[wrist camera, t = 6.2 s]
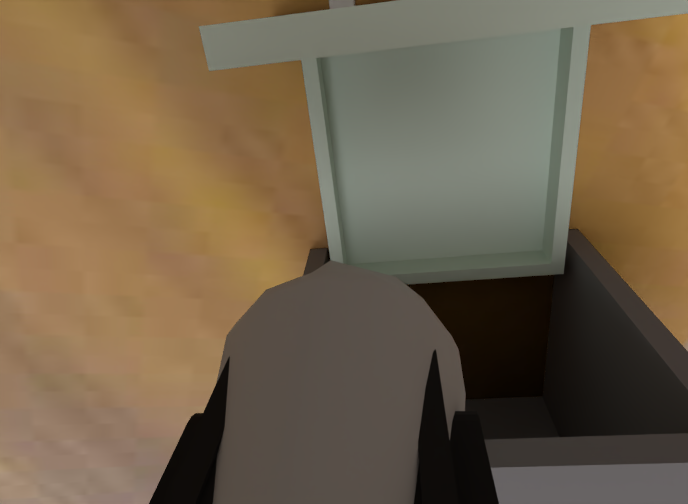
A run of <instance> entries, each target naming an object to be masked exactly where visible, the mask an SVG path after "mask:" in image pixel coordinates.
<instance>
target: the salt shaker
mask: <svg viewBox="0 0 688 504" xmlns="http://www.w3.org/2000/svg"><path fill="white" fill-rule="evenodd" d="M435 349H436V352H437V359H438V366H439V372H440V379H441V386H442V393H443V399H444V406H445V413H446V419H447V426H448V433H449V439H450V435H451V427H452V420H453V417H454V413H455V411H465V397H466V393H465V387H464V380H463V374H462V368H461V361H460V355H459V349H458V347H457V345H456V343H455V341H454V339H453V337H452V336H451V334H450V333H449V332H448V330H447V329H446V328H445V327H444V325H443V324H442V323H441V321H440V320H439V319H438V317H437V316H436V315H435V314H434V312H433V311H432V310H431V308H430V307H429V306H428V304H427V303H426V302H425V300H424V299H423V298H422V297H421V296H419V295H418V294H417V293H416V292H414V291H413V290H412V289H411V288H410V287H408V286H407V285H406V284H405V283H403V282H402V281H401V280H400V279H398V278H397V277H395V276H391V275H387V274H383V273H379V272H375V271H371V270H367V269H363V268H359V267H355V266H351V265H347V264H343V263H339V262H335V261H332V260H330V261H329V262H327V263H326V264H324V265H323V266H321V267H320V268H318V269H317V270H315V271H314V272H312V273H310V274H307V275H304V276H302V277H299V278H296V279H294V280H291V281H288V282H285V283H283V284H280V285H277V286H275V287H272V288H269V289H267V290H266V291H265V292H264V293H263V294H262V295H261V296H260V297H259V298H258V299H257V301H256V302H255V303H254V304H253V305H252V306H251V307H250V308H249V309H248V311H247V312H246V313H245V314H244V315H243V316H242V317H241V318H240V319H239V321H238V322H237V323H236V324H235V325H234V327H233V328H232V329H231V331H230V332H229V333H228V335H227V337H226V342H225V346H224V351H223V356H222V360H221V365H220V370H219V374H218V379H219V377H220V375H221V373H222V371H223V368H224V366H225V364H226V362H227V359H228V357H229V356H230V362H229V376H228V389H227V402H226V415H225V428H224V431H223V435H222V439H221V443H220V447H219V451H218V453H217V463H216V474H215V485H214V497H213V504H414V498H415V490H416V483H417V475H418V467H419V451H418V439H419V431H420V424H421V417H422V409H423V402H424V395H425V388H426V383H427V378H428V373H429V369H430V364H431V359H432V354H433V351H434V350H435ZM218 379H217V382H218Z"/></svg>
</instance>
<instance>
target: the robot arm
mask: <svg viewBox="0 0 688 504" xmlns="http://www.w3.org/2000/svg"><path fill="white" fill-rule="evenodd" d="M229 362H230V356H229V357H228V359H227V362H226V364H225V366H224V368H223V371H222V373H221V375H220V377H219V379H218V382H217V384H216V386H215V388H214V390H213V393H212V395H211V397H210V399H209V402H208V404H207V406H206V408H205V410H204V413H196V414H194V415H193V416H192V417H191V418H190V420H189V421H188V423H187V425H186V427H185V429H184V431H183V434H182V436H181V438H180V440H179V442H178V444H177V446H176V448H175V450H174V452H173V454H172V457H171V459H170V461H169V463H168V465H167V467H166V469H165V471H164V473H163V475H162V477H161V480H160V482H159V484H158V486H157V488H156V490H155V492H154V494H153V496H152V498H151V500H150V503H149V504H213V497H214V485H215V474H216V463H217V453H218V451H219V447H220V443H221V439H222V435H223V431H224V428H225V415H226V402H227V389H228V376H229ZM418 451H419V467H418V475H417V483H416V490H415V498H414V504H499V501H498V497H497V493H496V488H495V484H494V480H493V475H492V471H491V467H490V462H489V458H488V454H487V449H486V445H485V441H484V436H483V432H482V428H481V423H480V419H479V416H478V413H477V411H455V413H454V417H453V420H452V427H451V435H450V439H449V433H448V426H447V419H446V413H445V406H444V399H443V393H442V386H441V379H440V372H439V366H438V359H437V352H436V349H435V350H434V351H433V354H432V359H431V364H430V369H429V373H428V378H427V383H426V388H425V395H424V402H423V409H422V417H421V424H420V431H419V439H418Z"/></svg>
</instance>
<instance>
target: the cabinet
mask: <svg viewBox="0 0 688 504" xmlns="http://www.w3.org/2000/svg"><path fill="white" fill-rule="evenodd" d="M327 262H329V257H328V250H327V248H323V249H310V252H309V256H308V260H307V263H306V267H305V271H304V274H303V276H304V275H307V274H310V273H312V272H314V271H315V270H317V269H318V268H320V267H321V266H323V265H324V264H326V263H327ZM465 411H477V413H478V416H479V419H480V423H481V428H482V432H483V436H484V441H485V445H486V449H487V454H488V458H489V462H490V467H491V471H492V475H493V480H494V484H495V488H496V493H497V497H498V501H499V504H688V351H687V350H686V349H685V348H684V347H683V346H682V345H681V344H680V342H679V341H678V340H677V339H676V338H675V337H674V336H673V335H672V333H671V332H670V331H669V330H668V329H667V328H666V327H665V326H664V325H663V323H662V322H661V321H660V320H659V319H658V318H657V317H656V316H655V315H654V313H653V312H652V311H651V310H650V309H649V308H648V307H647V306H646V305H645V303H644V302H643V301H642V300H641V299H640V298H639V297H638V296H637V294H636V293H635V292H634V291H633V290H632V289H631V288H630V287H629V286H628V284H627V283H626V282H625V281H624V280H623V279H622V278H621V277H620V276H619V274H618V273H617V272H616V271H615V270H614V269H613V268H612V267H611V266H610V264H609V263H608V262H607V261H606V260H605V259H604V258H603V257H602V256H601V254H600V253H599V252H598V251H597V250H596V249H595V248H594V247H593V245H592V244H591V243H590V242H589V241H588V240H587V239H586V238H585V237H584V235H583V234H582V233H581V232H580V231H579V230H578V229H571V230H568V238H567V247H566V257H565V266H564V274H555V275H554V284H553V294H552V304H551V314H550V324H549V334H548V345H547V355H546V365H545V375H544V385H543V395H542V396H540V397H515V398H490V399H465Z"/></svg>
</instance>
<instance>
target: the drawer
mask: <svg viewBox="0 0 688 504" xmlns="http://www.w3.org/2000/svg"><path fill="white" fill-rule="evenodd" d="M329 7H330V9H328V10H320V11H313V12H305V13H298V14H290V15H282V16H275V17H267V18H260V19H252V20H244V21H237V22H229V23H222V24H214V25H206V26H199V29H200V34H201V38H202V42H203V47H204V51H205V55H206V60H207V64H208V68H209V71H213V70H222V69H230V68H238V67H247V66H255V65H263V64H271V63H280V62H288V61H296V60H301V62H302V69H303V76H304V83H305V90H306V96H307V103H308V110H309V117H310V124H311V130H312V137H313V144H314V151H315V158H316V164H317V171H318V178H319V185H320V192H321V198H322V205H323V212H324V219H325V226H326V233H327V239H328V246H329V253H330V260H332V261H335V262H339V263H343V264H347V265H351V266H355V267H359V268H363V269H367V270H371V271H375V272H379V273H383V274H387V275H391V276H395V277H397V278H398V279H400V280H401V281H402V282H403V283H405V284H421V283H436V282H451V281H466V280H481V279H496V278H511V277H526V276H540V275H555V274H564V266H565V257H566V247H567V238H568V229H569V220H570V211H571V202H572V193H573V183H574V174H575V165H576V156H577V147H578V138H579V129H580V119H581V110H582V101H583V92H584V83H585V74H586V65H587V55H588V46H589V37H590V28H591V25H595V24H603V23H611V22H620V21H628V20H636V19H644V18H653V17H661V16H669V15H678V14H686V13H688V0H396V1H389V2H381V3H374V4H366V5H358V6H355V0H329Z"/></svg>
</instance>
